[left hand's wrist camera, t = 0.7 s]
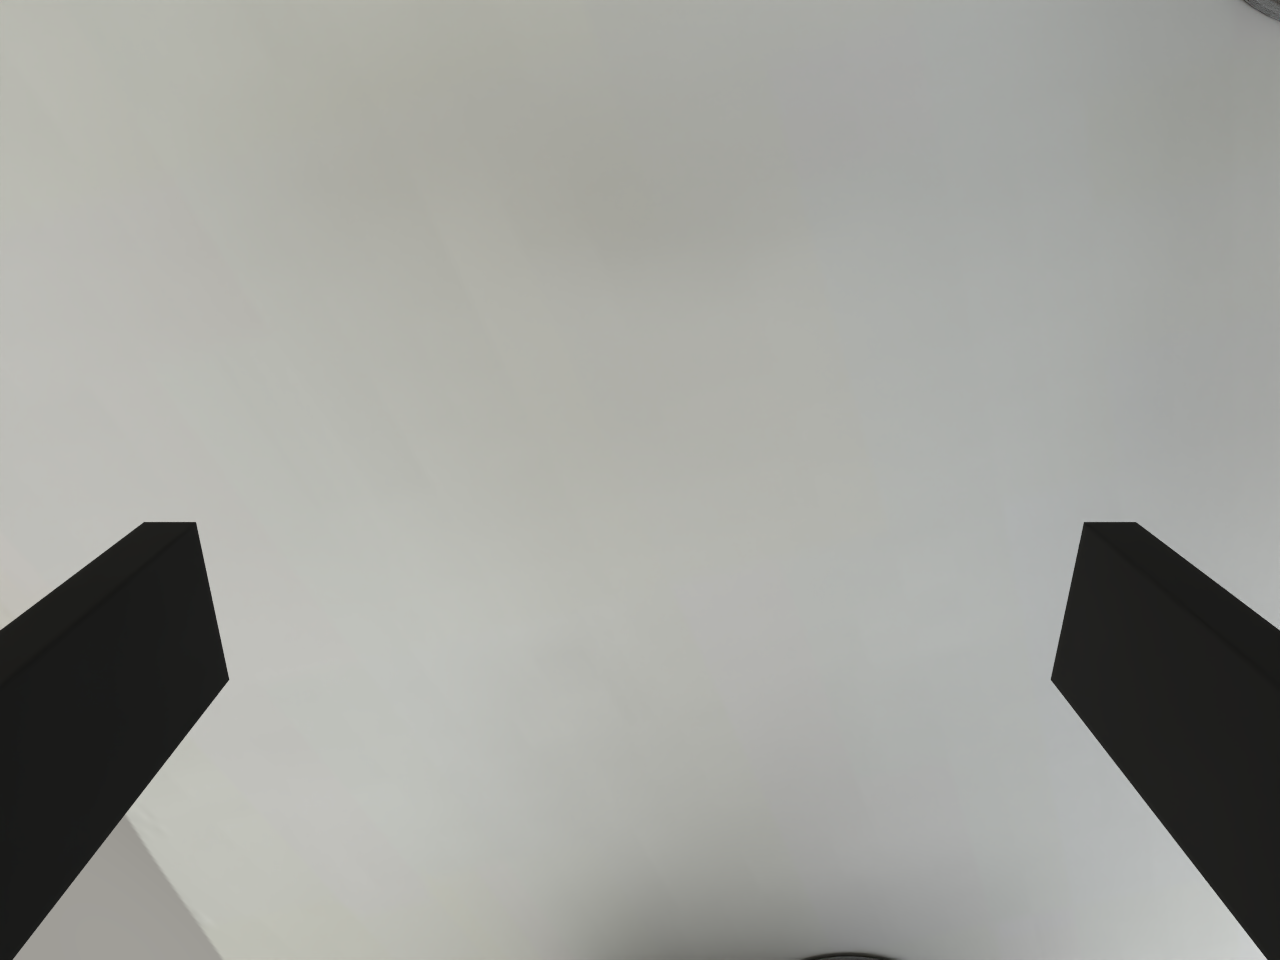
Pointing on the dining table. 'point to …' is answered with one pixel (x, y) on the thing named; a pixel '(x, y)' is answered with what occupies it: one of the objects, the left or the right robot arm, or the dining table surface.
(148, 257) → the dining table surface
